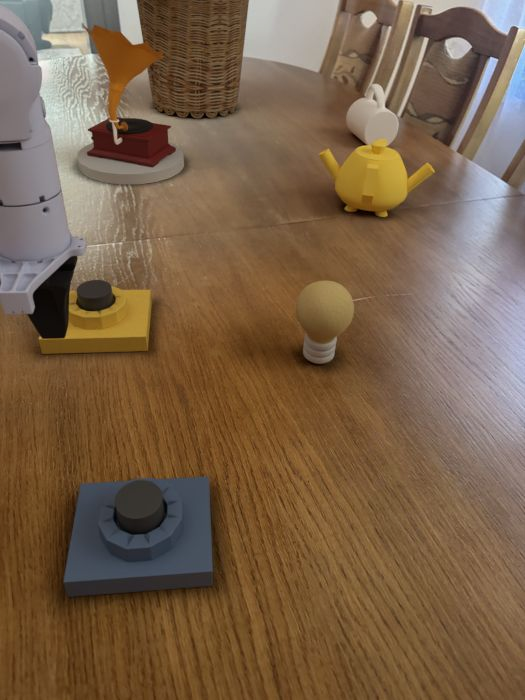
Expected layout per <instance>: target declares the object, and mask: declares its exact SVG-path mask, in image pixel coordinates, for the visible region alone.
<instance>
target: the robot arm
mask: <svg viewBox="0 0 525 700" xmlns="http://www.w3.org/2000/svg"><path fill="white" fill-rule="evenodd" d="M42 84H43V69H42V67H41V66H40V65H39V56H38V49H37V46H36V41H35V39H34V36H33V35H32V32H31V31H30V29H29V28H28V26H27V25H26V24H25V22H24V21H23V20H22V19H21V18H20V17H19V16H18V15H17V14H16V13H15V12H13V11H11V9H9V8H7V7H6V6H4V5H2V4H0V304H1V308H2V311H3V314H4V315H26V316H27V317H28V318H29V320H30V322H31V323H32V325H33V327H34V329H35V330H36V332H37V333H38V335H39V336H41V337H42V338H43V339H59V338H65V336H66V332H67V328H68V321H69V293H70V291H71V283H72V281H73V277H74V273H75V269H76V266H77V264H78V260H79V258H78V257H80V256H83V255H85V253H86V251H87V248H88V243H87V239H86V238H85V237H83V236H74V235H72V233H71V231H70V228H69V223H68V217H67V212H66V211H67V210H66V205H65V199H64V194H63V190H62V184H61V183H62V182H61V179H60V172H59V167H58V161H57V156H56V151H55V146H54V140H53V135H52V134H53V133H52V130H51V127H50V124H49V123H48V121H47V120H46V117H47V109H46V103H45V100H44V98H43V96H41V93H40V92H41V88H42Z"/></svg>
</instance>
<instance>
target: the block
mask: <svg viewBox="0 0 525 700" xmlns="http://www.w3.org/2000/svg"><path fill="white" fill-rule="evenodd" d="M137 480H146V481H150V482H153V483H154V484H156V485H157V486H158V487H159V488H160V490H161V492H162V497H163V506H164V516H163V519H162V521H161V523H160V524H159V525H158V526H157V527H156V528H155V529H153V530H152V531H150V532H147V533H144V534H132V533H129V532H127V531H125V530H124V529H123V528H122V527H121V526H120V524H119V522H118V518H117V512H116V507H115V498H116V495H117V493H118V492H119V490H120V489H121V488H122V487H123V486H125V485H126V484H128V483H130V482H133V481H137ZM210 494H211V493H210V476H191V477H174V478H172V477H171V478H155V477H144V478H143V477H142V478H132V479H130V480H119V481H118V480H117V481H102V482H99V481H98V482H84V483H83V482H82V483H80V485H79V491H78V496H77V501H76V508H75V513H74V519H73V524H72V530H71V534H70V535H71V536H70V540H69V547H68V553H67V558H66V564H65V570H64V575H63V579H62V580H63V581H62V584H63V586H64V589H65V592H66V595H67V597H68V598H75V597H86V596H98V595H112V594H125V593H127V594H128V593H139V592H150V591H152V592H153V591H164V590H177V589H178V590H179V589H190V588H191V589H192V588H204V587H213V586H214V567H213V566H214V565H213V545H212V543H213V541H212V521H211V520H212V517H211V495H210Z"/></svg>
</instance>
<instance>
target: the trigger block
mask: <svg viewBox="0 0 525 700" xmlns="http://www.w3.org/2000/svg"><path fill="white" fill-rule="evenodd" d="M111 286H112V293H113V300H114V302H113V305H112V306H111V307H110V308H107V309H104V310H101V311H85V310H82V309H81V308H80V307H79V302H78V297H77V292H76V290H70V293H69V321H68V328H67V332H66V336H65V338H59V339H43V338H42V337H41V336H40V335H39V336H38V340H37V341H38V345H39V348H40V351H41V354H42V355H56V354H57V355H58V354H84V353H85V354H86V353H87V354H88V353H89V354H91V353H92V354H93V353H123V352H124V353H125V352H127V353H128V352H148V351H149V341H150V328H151V317H152V305H153V302H152V294H151V293H152V290H151V289H121V288H119V287H116V286H114V285H111Z"/></svg>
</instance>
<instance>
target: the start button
mask: <svg viewBox="0 0 525 700" xmlns="http://www.w3.org/2000/svg"><path fill="white" fill-rule="evenodd" d="M115 507H116V512H117V518H118V522H119V524H120V526H121V527H122V528H123V529H124V530H125V531H127V532H129V533H132V534H144V533H147V532H150V531H152V530H153V529H155V528H156V527H157V526H158V525H159V524H160V523H161V521H162V519H163V516H164V506H163V497H162V492H161V490H160V488H159V487H158V486H157V485H156V484H154V483H153V482H150V481H146V480H137V481H133V482H130V483H128V484H126V485H125V486H123V487H122V488H121V489H120V490H119V492H118V493H117V495H116V498H115Z"/></svg>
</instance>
